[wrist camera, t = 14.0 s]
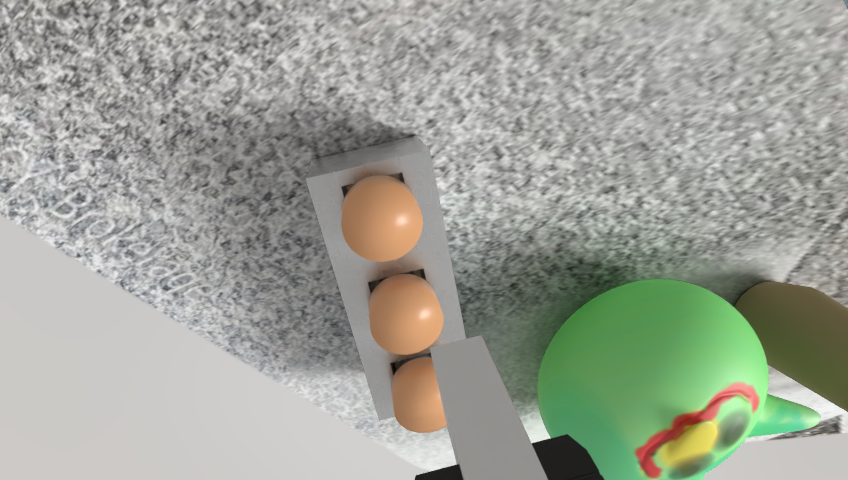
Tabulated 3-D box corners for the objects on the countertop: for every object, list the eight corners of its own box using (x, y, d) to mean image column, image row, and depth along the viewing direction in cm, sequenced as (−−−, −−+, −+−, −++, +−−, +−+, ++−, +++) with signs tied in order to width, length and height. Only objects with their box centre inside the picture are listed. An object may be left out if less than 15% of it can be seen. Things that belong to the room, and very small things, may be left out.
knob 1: (334, 164, 34) (331, 195, 27) (398, 149, 35) (413, 176, 27) (351, 224, 36) (353, 270, 29) (412, 209, 37) (429, 251, 29)
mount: (311, 159, 35) (305, 178, 29) (416, 135, 35) (429, 149, 30) (375, 372, 43) (379, 420, 37) (460, 350, 43) (477, 394, 38)
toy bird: (637, 217, 41) (781, 297, 27) (719, 330, 47) (870, 442, 34) (481, 347, 43) (542, 479, 30) (579, 439, 50) (666, 583, 36)
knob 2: (379, 323, 40) (387, 388, 32) (433, 309, 40) (454, 370, 32) (391, 368, 42) (401, 440, 34) (443, 355, 42) (465, 422, 34)
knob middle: (358, 249, 37) (361, 300, 29) (417, 235, 37) (436, 282, 30) (372, 301, 39) (379, 362, 31) (429, 287, 39) (449, 344, 32)
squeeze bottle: (732, 355, 48) (933, 510, 32) (710, 299, 45) (919, 439, 29) (803, 313, 48) (1044, 450, 31) (785, 254, 45) (1042, 371, 28)
